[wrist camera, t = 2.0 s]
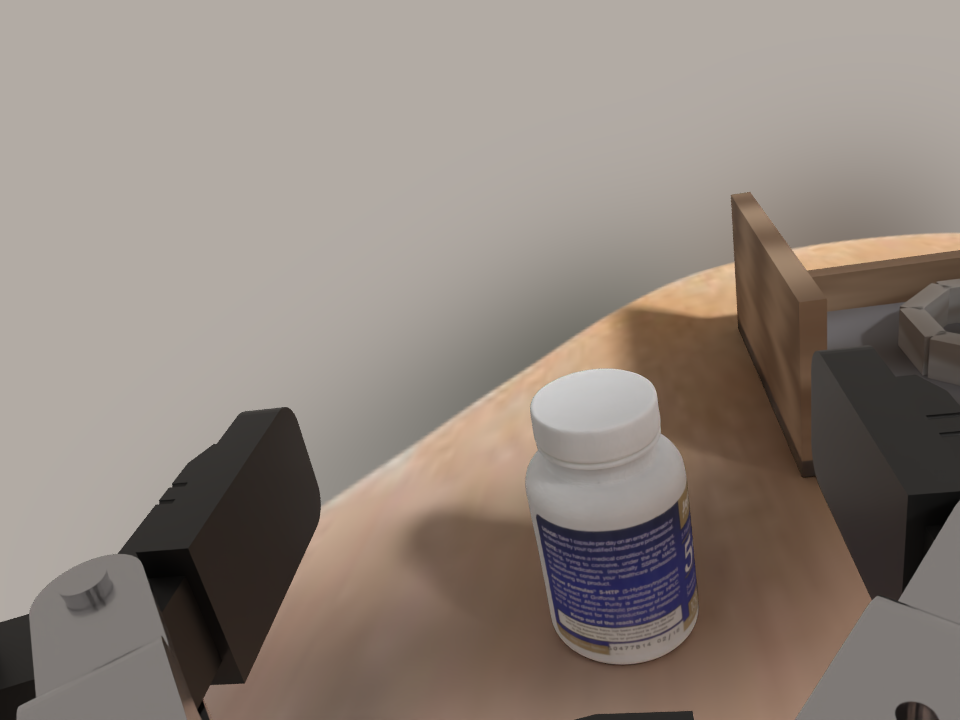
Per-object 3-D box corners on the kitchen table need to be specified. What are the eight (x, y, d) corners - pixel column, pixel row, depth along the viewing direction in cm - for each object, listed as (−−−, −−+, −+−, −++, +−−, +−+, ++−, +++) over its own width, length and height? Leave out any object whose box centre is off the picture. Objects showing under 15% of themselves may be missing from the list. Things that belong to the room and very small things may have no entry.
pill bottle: (728, 639, 27) (711, 411, 23) (582, 691, 26) (539, 464, 22) (658, 545, 31) (634, 344, 28) (532, 587, 31) (490, 386, 27)
